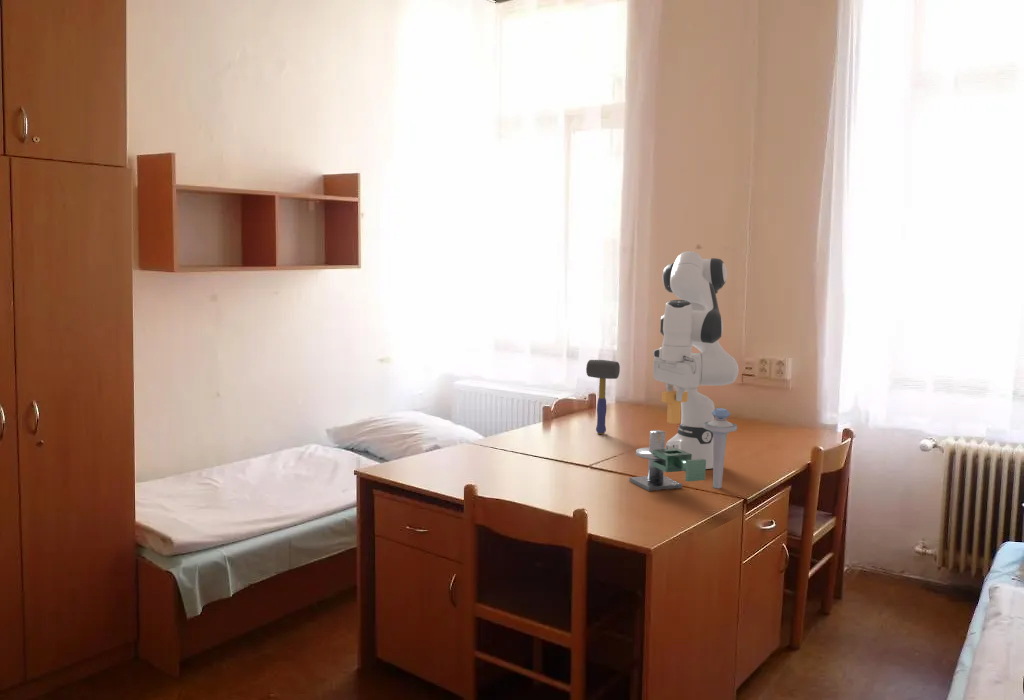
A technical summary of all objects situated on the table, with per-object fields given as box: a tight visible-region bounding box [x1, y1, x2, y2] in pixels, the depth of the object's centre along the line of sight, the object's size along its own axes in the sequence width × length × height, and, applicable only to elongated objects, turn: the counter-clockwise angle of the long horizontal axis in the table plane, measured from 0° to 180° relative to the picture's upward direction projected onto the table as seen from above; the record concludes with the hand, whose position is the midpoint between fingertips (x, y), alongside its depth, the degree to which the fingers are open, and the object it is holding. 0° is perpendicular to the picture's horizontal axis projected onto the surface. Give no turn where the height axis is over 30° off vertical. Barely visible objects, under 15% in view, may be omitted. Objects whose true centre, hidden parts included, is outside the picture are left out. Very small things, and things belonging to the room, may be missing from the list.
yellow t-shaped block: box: [661, 390, 688, 425], centre depth 263 cm, size 2×8×10 cm, turn 112°
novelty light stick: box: [704, 407, 738, 489], centre depth 271 cm, size 10×10×25 cm
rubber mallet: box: [585, 359, 621, 435], centre depth 346 cm, size 12×8×30 cm, turn 67°
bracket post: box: [628, 429, 707, 492], centre depth 266 cm, size 29×13×17 cm, turn 22°
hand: (674, 399), depth 262 cm, fingers closed on yellow t-shaped block, 2 cm apart
